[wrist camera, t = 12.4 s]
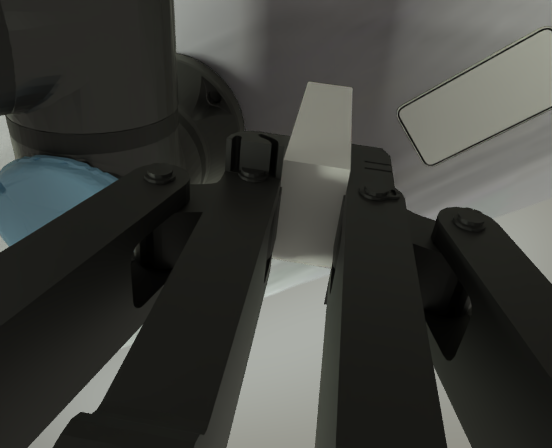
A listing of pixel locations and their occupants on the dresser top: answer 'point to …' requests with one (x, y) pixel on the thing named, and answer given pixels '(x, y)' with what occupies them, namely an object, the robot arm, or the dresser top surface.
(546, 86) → the smartphone
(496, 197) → the dresser top surface
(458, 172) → the dresser top surface
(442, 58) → the dresser top surface
